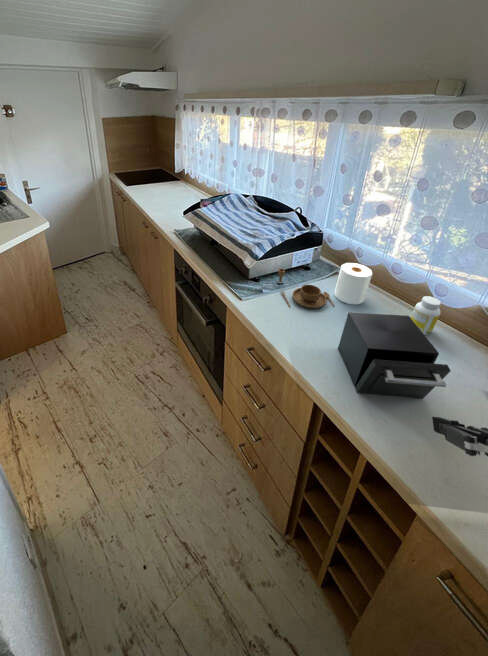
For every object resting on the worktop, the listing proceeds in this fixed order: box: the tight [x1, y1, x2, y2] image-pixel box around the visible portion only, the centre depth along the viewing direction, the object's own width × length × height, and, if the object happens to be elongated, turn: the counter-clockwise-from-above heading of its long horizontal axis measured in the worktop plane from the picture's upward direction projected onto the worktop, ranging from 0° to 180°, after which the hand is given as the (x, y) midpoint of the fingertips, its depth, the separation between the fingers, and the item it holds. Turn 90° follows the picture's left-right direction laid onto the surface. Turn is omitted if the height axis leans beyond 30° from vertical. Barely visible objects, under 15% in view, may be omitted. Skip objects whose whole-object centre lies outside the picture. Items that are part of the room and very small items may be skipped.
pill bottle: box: [410, 295, 442, 336], centre depth 97 cm, size 6×6×12 cm
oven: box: [337, 311, 440, 388], centre depth 83 cm, size 14×16×14 cm
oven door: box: [354, 359, 452, 400], centre depth 73 cm, size 5×16×14 cm, turn 83°
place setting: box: [277, 268, 336, 310], centre depth 117 cm, size 18×20×6 cm
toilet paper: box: [334, 262, 373, 305], centre depth 113 cm, size 10×10×12 cm
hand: (436, 424), depth 61 cm, fingers closed
